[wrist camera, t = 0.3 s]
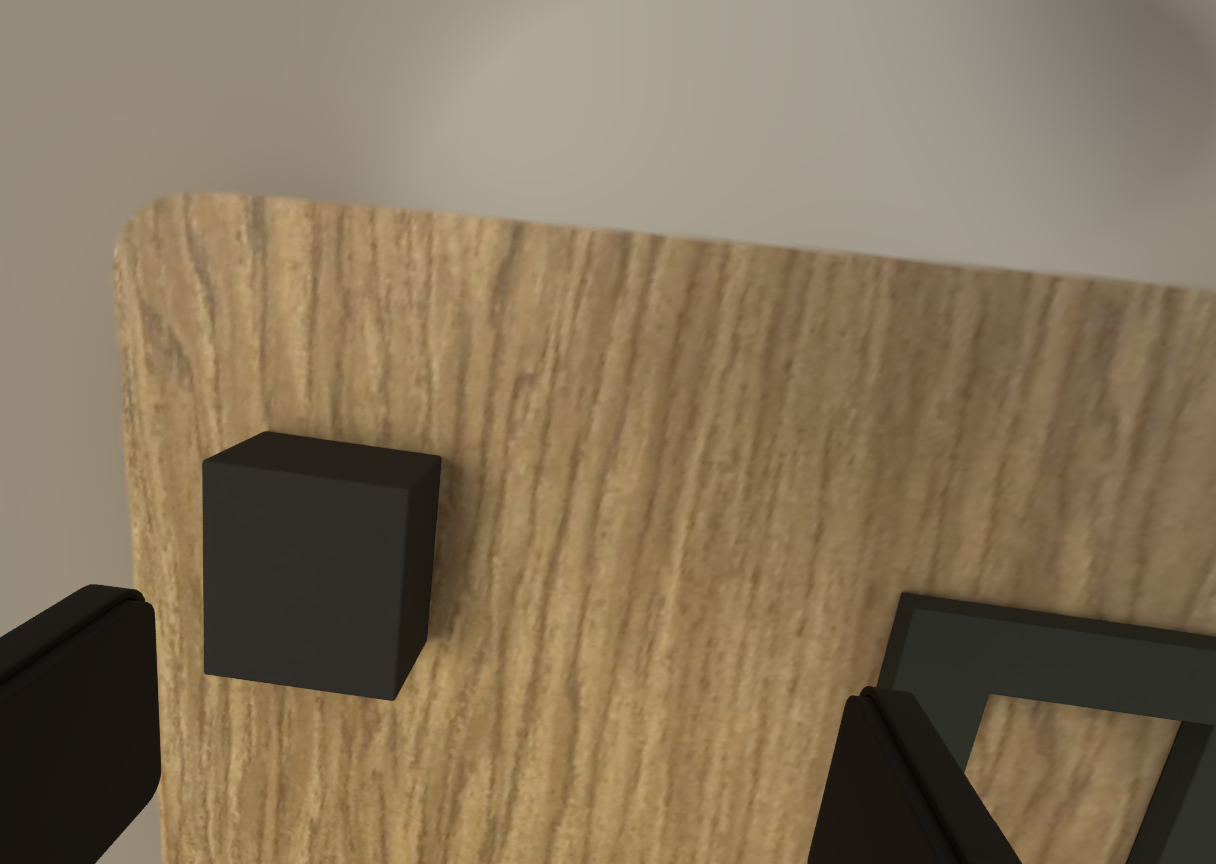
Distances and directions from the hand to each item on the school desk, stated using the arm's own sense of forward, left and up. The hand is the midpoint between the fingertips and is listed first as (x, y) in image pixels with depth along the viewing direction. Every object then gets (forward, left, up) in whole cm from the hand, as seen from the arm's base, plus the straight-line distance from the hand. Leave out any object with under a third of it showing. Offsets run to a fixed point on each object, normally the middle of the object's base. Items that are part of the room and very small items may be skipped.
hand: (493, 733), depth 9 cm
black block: (+4, -7, -14) cm, 17 cm away
